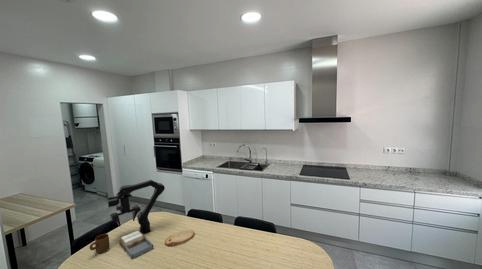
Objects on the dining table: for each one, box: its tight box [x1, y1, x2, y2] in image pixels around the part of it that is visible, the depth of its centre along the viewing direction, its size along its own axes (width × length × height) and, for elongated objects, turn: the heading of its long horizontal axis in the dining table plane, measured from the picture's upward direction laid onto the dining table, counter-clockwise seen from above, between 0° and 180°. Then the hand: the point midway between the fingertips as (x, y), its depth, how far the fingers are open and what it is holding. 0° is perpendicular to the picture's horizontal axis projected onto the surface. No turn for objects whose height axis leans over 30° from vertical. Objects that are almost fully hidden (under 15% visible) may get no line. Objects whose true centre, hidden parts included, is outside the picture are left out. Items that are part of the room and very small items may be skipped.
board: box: [119, 231, 148, 252], centre depth 138 cm, size 14×12×3 cm
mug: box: [89, 233, 110, 255], centre depth 128 cm, size 12×8×9 cm, turn 165°
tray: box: [125, 238, 155, 260], centre depth 130 cm, size 13×12×3 cm
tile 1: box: [120, 230, 140, 242], centre depth 139 cm, size 11×4×2 cm, turn 137°
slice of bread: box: [164, 229, 195, 247], centre depth 141 cm, size 18×18×4 cm
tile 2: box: [124, 233, 143, 245], centre depth 136 cm, size 11×4×2 cm, turn 137°
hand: (126, 223), depth 144 cm, fingers open, 9 cm apart
